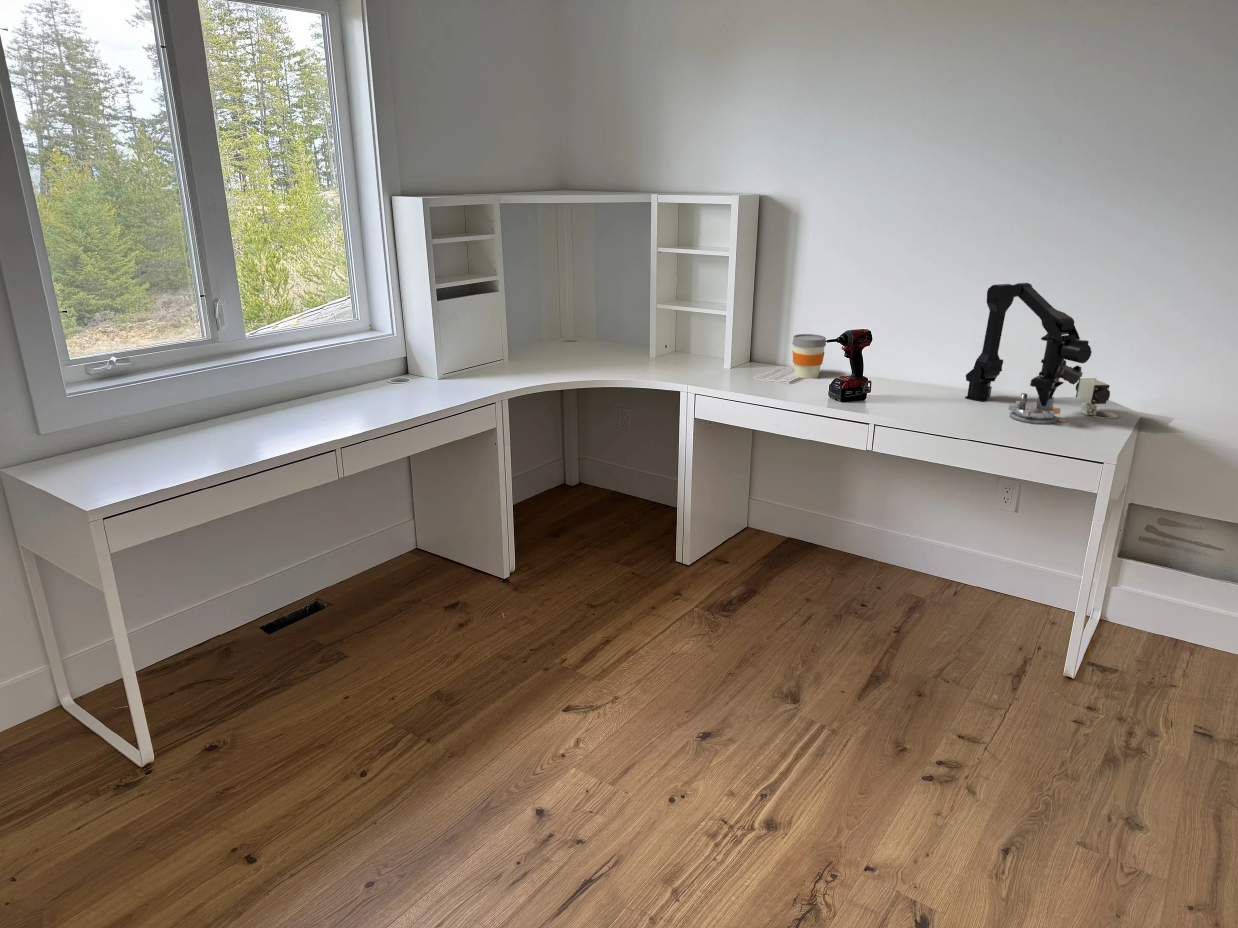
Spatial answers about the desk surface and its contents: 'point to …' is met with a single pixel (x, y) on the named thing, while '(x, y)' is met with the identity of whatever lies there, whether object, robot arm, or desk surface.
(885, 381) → the desk surface
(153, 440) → the desk surface
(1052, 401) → the banded grey cube
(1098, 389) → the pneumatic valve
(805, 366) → the reusable coffee cup
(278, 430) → the desk surface
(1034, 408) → the sprocket
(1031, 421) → the plinth
